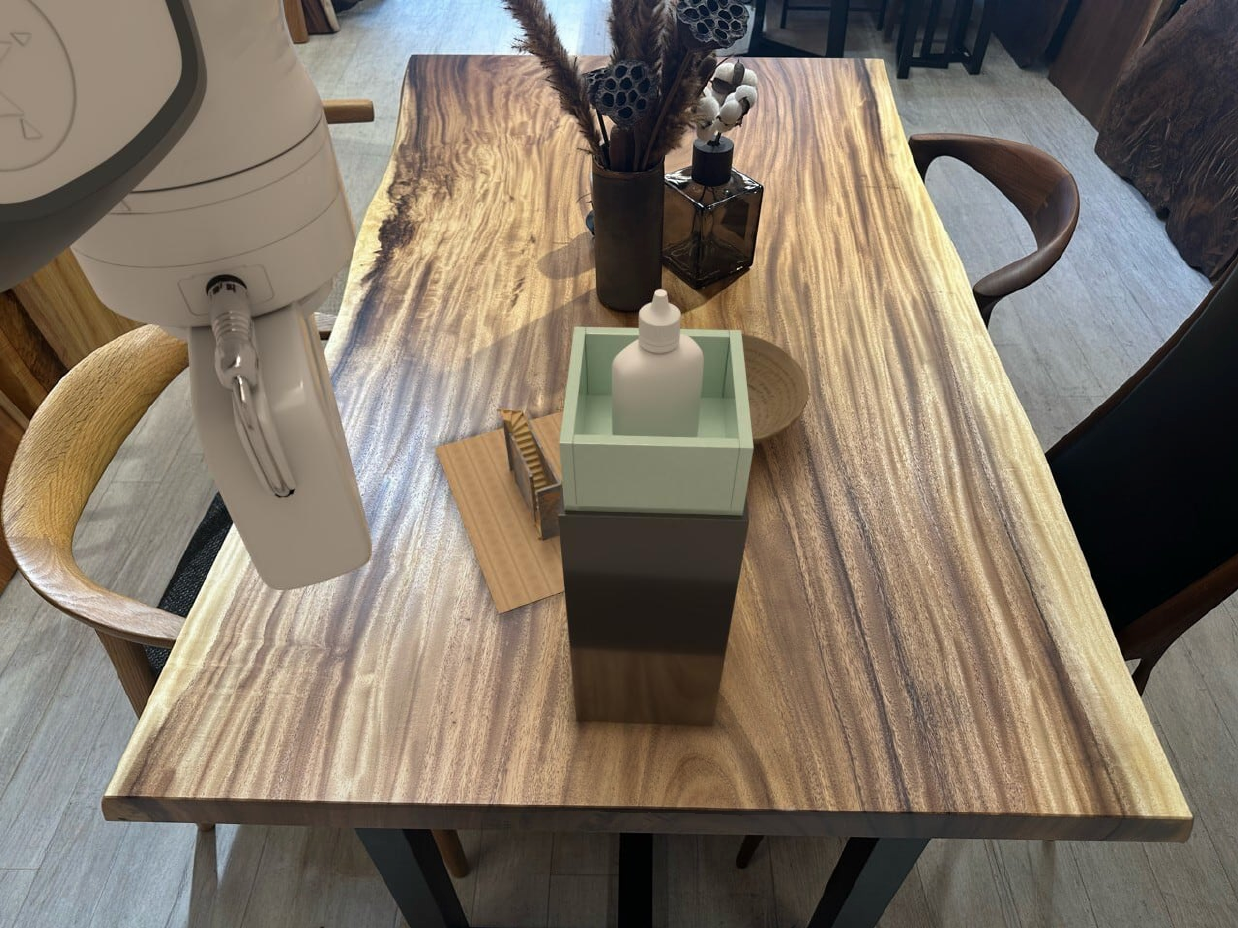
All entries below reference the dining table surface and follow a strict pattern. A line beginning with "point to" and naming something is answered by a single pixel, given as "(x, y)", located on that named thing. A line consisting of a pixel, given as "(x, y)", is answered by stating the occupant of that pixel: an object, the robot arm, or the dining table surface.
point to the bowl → (772, 388)
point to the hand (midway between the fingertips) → (323, 485)
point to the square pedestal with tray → (652, 538)
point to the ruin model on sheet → (532, 470)
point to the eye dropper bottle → (658, 377)
